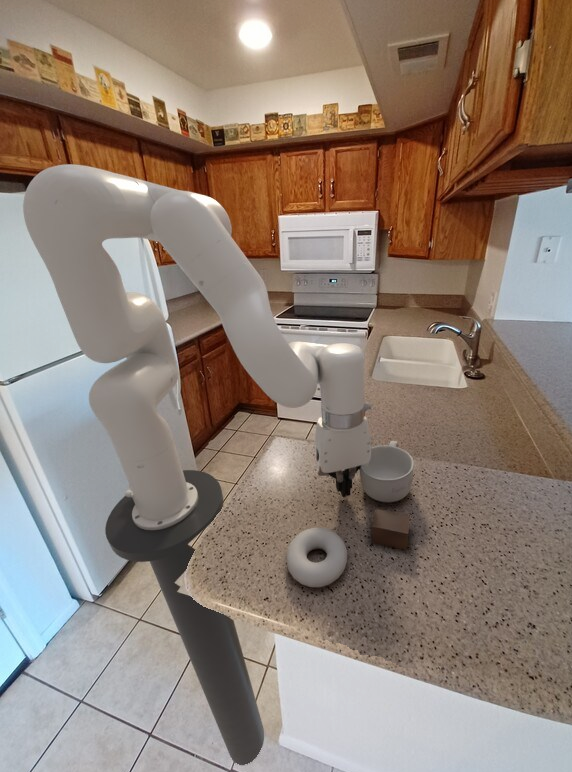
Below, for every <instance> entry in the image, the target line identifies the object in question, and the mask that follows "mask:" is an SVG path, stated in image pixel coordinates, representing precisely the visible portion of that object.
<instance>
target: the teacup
mask: <svg viewBox="0 0 572 772" xmlns="http://www.w3.org/2000/svg"><path fill="white" fill-rule="evenodd" d="M414 468H415V461H414V458H413V456H412V455H411V454H410V453H409V452H408V451H406V450H405V449H403V448H400V447H399V442H398V441H397V440H390V442H389V444H384V445H381V444H380V445H375V446H374V445H373V446H371V458H370V463H369V464H368V465H365V466H363V467H361V468H360V469H359V470H358V471H359V478H360V479H359V480H360V484H361V487H362V489H363V491H364V492H365V494H366V495H367V496H369V497H370V498H372V500H373V499H374V500H376V501H378V502H382V503H395V502H399V501H401V500H402V499H404V498H405V497H406V496H408V494H410V491H411V489H412V486H413V481H414Z"/></svg>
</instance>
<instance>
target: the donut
mask: <svg viewBox="0 0 572 772" xmlns="http://www.w3.org/2000/svg"><path fill="white" fill-rule="evenodd" d="M318 549H319V550H322V551H324V552H325V553H326V557H325V558H324V559H323V560H322V561H319V562H317V561H316V562H315V561H311V560H310V559H309V558H307V557H308V554H309V553H310V552H311V551H314V550H318ZM347 549H348V548H347V546H346V544H345V542H344V540H343V539H342V538H341V537H340V535H339V534H338V533H336V532H335V531H333V530H332V529H329V528H325V527H311V528H308V529H307V528H306V529H305V530H303V531H301V532H299V533H298V534H297V535H295V536H294V537H293V539H292V540H291V541H290V543H289V545H288V548H287V551H286V558H285V560H286V561H285V562H286V565H287V569H288V572H289V573H290V575H291V576H292V578H293V579H294V580H295V581H297V582H298V583H299V584H301V585H303V586H306V587H309V588H322V587H327V586H329V585H331V584H333V583H334V582H335V581H337V580H338V579H339V578H340V577H341V575H342V574H343V573H344V571H345V569H346V565H347V563H348V550H347Z"/></svg>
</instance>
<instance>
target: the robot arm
mask: <svg viewBox="0 0 572 772" xmlns="http://www.w3.org/2000/svg"><path fill="white" fill-rule="evenodd" d="M22 209H23V218H24V222H25V223H24V224H25V226H26V229H27V232H28V234H29V236H30V239H31V241H32V242H33V245H34V246H35V249H36V250H37V252H38V254H39V257H40V258H41V259H42V261H43V264H44V265H45V267H46V269H47V271H48V273H49V276H50V278H51V280H52V283H53V285H54V288H55V291H56V293H57V296H58V299H59V301H60V305H61V306H62V309H63V312H64V315H65V317H66V319H67V321H68V324H69V327H70V330H71V332H72V334H73V337H74V338H75V341H76V343H77V345H78V347H79V349H80V350H81V352H82V353H83V354H84V355H85V356H86V357H87V358H88V359H89V360H91V361H93V362H95V363H99V364H111V363H116V362H119V361H120V362H119V363H118V364H115V365H114V366H113V367H111V368H110V369H108V370H107V371H105V372H104V373H102V374H101V375H100V376H99V377H98V378H97V379H96V380H95V381H94V382H93V384H92V385H91V387H90V389H89V393H88V403H89V407H90V409H91V411H92V412H93V414H94V415H95V417H96V418H97V419H98V421H99V422H100V424H101V425H102V426H103V428H104V430H105V431H106V433H107V435H108V436H109V437H108V438H110V440H111V443H112V445H113V448H114V451H115V452H116V455H117V457H118V460H119V462H120V465H121V467H122V469H123V472H124V475H125V477H126V480H127V483H128V486H129V487H128V488H129V489H127V490H126V491H125V493H124V496H126V497H131V498H133V500H134V502H135V506H134V508H133V510H132V518H133V521H134V523H135V524H136V525H137V526H138V527H139V528H141V529H144V530H160V529H164V528H167V527H170V526H172V525H174V524H176V523H178V522H180V521H181V520H183V519H184V518H185V517H187V516H188V515H189V514H190V513H191V512H192V511H193V509H194V508H195V506H196V504H197V502H198V493H197V490H196V488H195V487H194V486H193V485H192V484H190V483H188V482H186V480H185V477H184V473H183V470H184V469H183V467H182V464H181V460H180V457H179V453H178V450H177V447H176V443H175V440H174V436H173V433H172V429H171V427H170V425H169V423H168V422H167V420H166V419H165V418H164V417H163V416H162V414H160V412H159V411H158V405H159V403H161V402H162V400H163V399H164V398H165V397H166V396H167V395H168V394H169V393H170V392H171V391H172V390H173V388H174V387H175V386H176V385H177V382H178V379H179V366H178V362H177V357H176V353H175V350H174V345H173V343H172V339H171V335H170V330H169V327H168V323H167V320H166V317H165V316H164V313H163V312H162V310H161V309H160V306H158V305H157V304H156V302H154V301H153V300H152V299H151V298H149V297H148V296H146V295H144V294H142V293H138V292H132V291H131V292H126V289H125V286H124V282H123V279H122V275H121V273H120V270H119V268H118V265H116V263H115V261H114V260H113V257H111V255H110V254H109V253H108V251H107V250H106V249H105V248H104V246H103V242H104V241H106V240H111V239H145V240H149V241H153V242H158V243H160V245H161V246H162V247H163V248H164V250H165V252H167V253H168V255H169V256H170V257H171V258H172V259H173V261H174V262H175V263H176V264H177V266H178V267H179V268H180V270H182V272H183V273H184V274H185V275H186V277H187V278H188V279H189V280H190V281H191V282H192V284H193V285H194V286H195V287H196V288H197V290H198V291H199V292H200V294H201V295H202V296H203V298H204V299H205V301H207V302H208V303H209V305H210V306H211V307H212V308H213V310H214V311H215V312H216V313H217V315H218V317H219V319H220V322H221V325H222V327H223V329H224V332H225V335H226V336H227V339H228V341H229V342H230V345H231V347H232V350H233V352H234V353H235V355H236V358H237V359H238V361H239V362H240V364H241V365H242V366H243V368H244V370H245V371H246V372H247V374H248V375H249V376H250V378H252V380H253V381H254V382H255V383H256V385H257V386H258V387H259V388H260V389H261V390H262V391H263V393H265V395H266V396H267V397H269V399H270V400H272V401H273V402H275V403H276V404H278V405H279V406H282V407H285V408H289V409H296V408H301V407H303V406H305V405H307V404H309V402H310V401H311V400H312V399H313V398H314V397H315V394H316V393H317V388H318V385H319V387H320V388H319V391H320V407H321V417H318V419H317V421H316V426H315V437H314V458H315V461H316V462H317V465H316V473H317V475H318V477H328V476H329V477H331V478H332V479H334V480H335V489H336V491H337V492H338V493H340V494H341V496H342V498H345V497H349V496H351V492H352V491H351V490H352V489H353V480H354V479H355V477H356V474H357V472H358V471H360V470H359V469H360V468H361V467H363V466H365V465H368V464H369V463H370V458H371V447H372V439H371V433H370V432H371V431H370V425H369V421H368V417H367V416H366V412H367V411H369V410H371V409H372V405H371V402H369V401H367V402H366V401H365V383H366V382H365V377H366V375H365V374H366V373H365V372H366V358H365V357H366V356H365V352H364V349H362V348H361V347H360V346H359V345H357V344H355V343H354V344H353V343H348V342H337V343H331V344H322V343H315V342H308V341H292V342H288V341H287V339H286V338H285V337H284V335H283V334H282V332H281V330H280V328H279V326H278V324H277V322H276V319H275V318H274V315H273V312H272V309H271V304H270V299H269V293H268V289H267V286H266V283H265V281H264V280H263V278H262V276H261V275H260V273H259V272H258V271H257V270H256V269H255V267H254V265H253V264H252V263H251V262H250V260H249V259H248V257H247V256H246V255H245V253H244V252H243V251H242V250H241V248H240V247H239V245H238V244H237V242H236V241H235V239H234V238H233V237H232V233H233V230H232V223H231V219H230V216H229V214H228V212H227V211H226V209H225V208H224V207H223V206H222V204H220V202H218V201H217V200H216V199H214V198H212V197H210V196H208V195H205V194H201V193H197V192H194V191H189V190H180V189H176V188H172V187H169V186H165V185H162V184H157V183H154V182H150V181H147V180H143V179H140V178H136V177H132V176H128V175H126V174H125V175H124V174H120V173H117V172H112V171H110V170H106V169H102V168H97V167H93V166H90V165H82V164H73V163H72V164H71V163H70V164H69V163H68V164H58V165H53V166H49V167H47V168H45V169H43V170H41V171H40V172H39V173H37V174H36V175H34V177H33V179H32V180H31V181H30V182H29V184H28V186H27V188H26V189H25V193H24V197H23V203H22ZM125 358H126V359H125ZM123 359H124V360H123ZM121 360H123V361H121Z"/></svg>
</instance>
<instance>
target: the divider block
mask: <svg viewBox="0 0 572 772" xmlns="http://www.w3.org/2000/svg"><path fill="white" fill-rule="evenodd" d="M410 520H411V515H410V514H405V513H400V512H395V511H390V510H384V509H380V508H375V510H374V516H373V520H372V525H371V543H373V544H377V545H382V546H385V547H391V548H395V549H400V550H403V551H408V541H409V531H410Z"/></svg>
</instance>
